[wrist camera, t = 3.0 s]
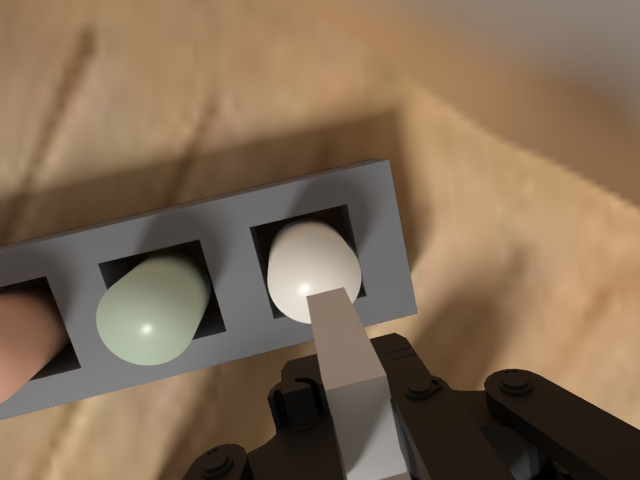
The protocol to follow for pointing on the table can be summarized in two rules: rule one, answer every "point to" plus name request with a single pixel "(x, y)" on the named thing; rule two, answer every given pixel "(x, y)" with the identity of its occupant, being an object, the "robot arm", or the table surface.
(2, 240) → the table surface
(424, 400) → the robot arm
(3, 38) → the table surface
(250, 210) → the grey egg tray
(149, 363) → the pale green egg
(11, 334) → the pinkish-brown oval egg
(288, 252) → the white egg
